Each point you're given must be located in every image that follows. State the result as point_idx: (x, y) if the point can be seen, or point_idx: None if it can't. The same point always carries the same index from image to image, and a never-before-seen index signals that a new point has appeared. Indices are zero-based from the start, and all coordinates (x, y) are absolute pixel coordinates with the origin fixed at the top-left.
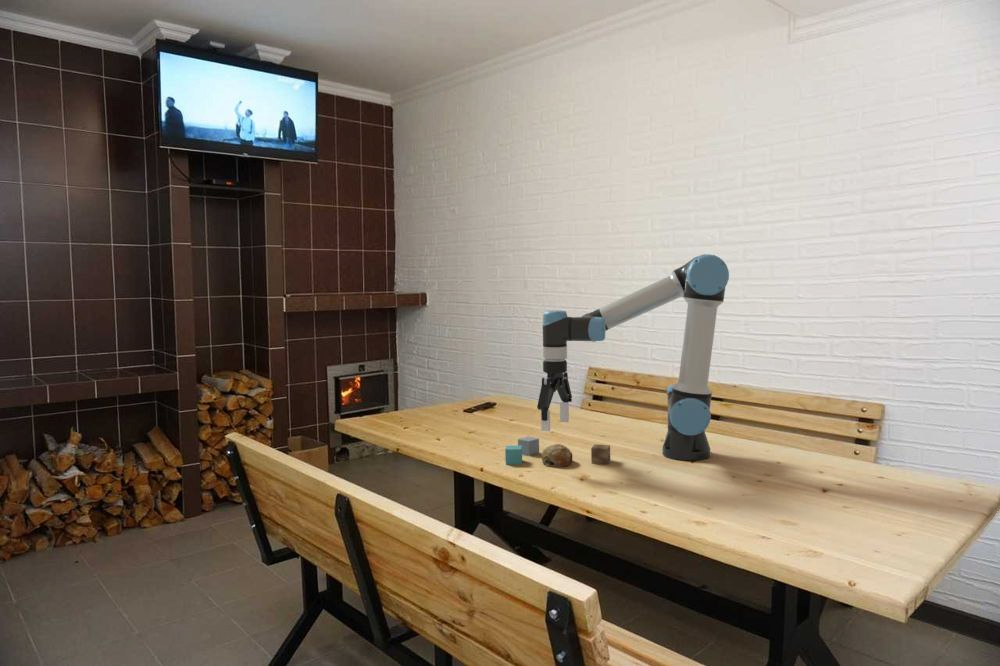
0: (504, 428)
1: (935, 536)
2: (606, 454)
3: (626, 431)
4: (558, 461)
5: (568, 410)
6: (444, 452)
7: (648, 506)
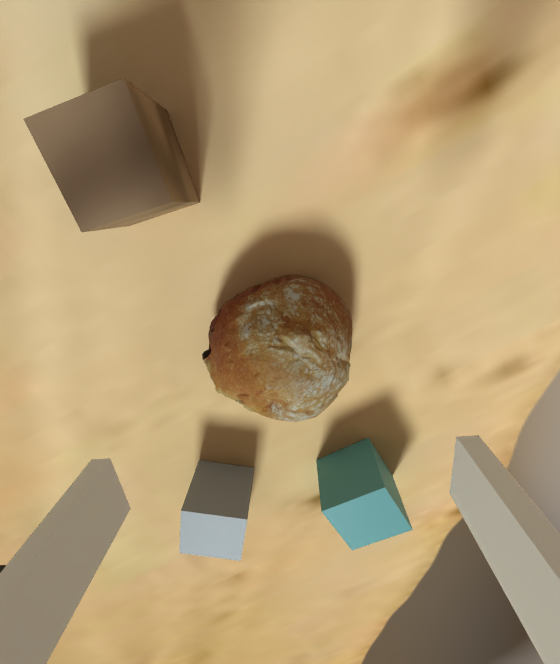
0: None
1: None
2: (143, 96)
3: None
4: (347, 310)
5: (10, 567)
6: (350, 638)
7: None
